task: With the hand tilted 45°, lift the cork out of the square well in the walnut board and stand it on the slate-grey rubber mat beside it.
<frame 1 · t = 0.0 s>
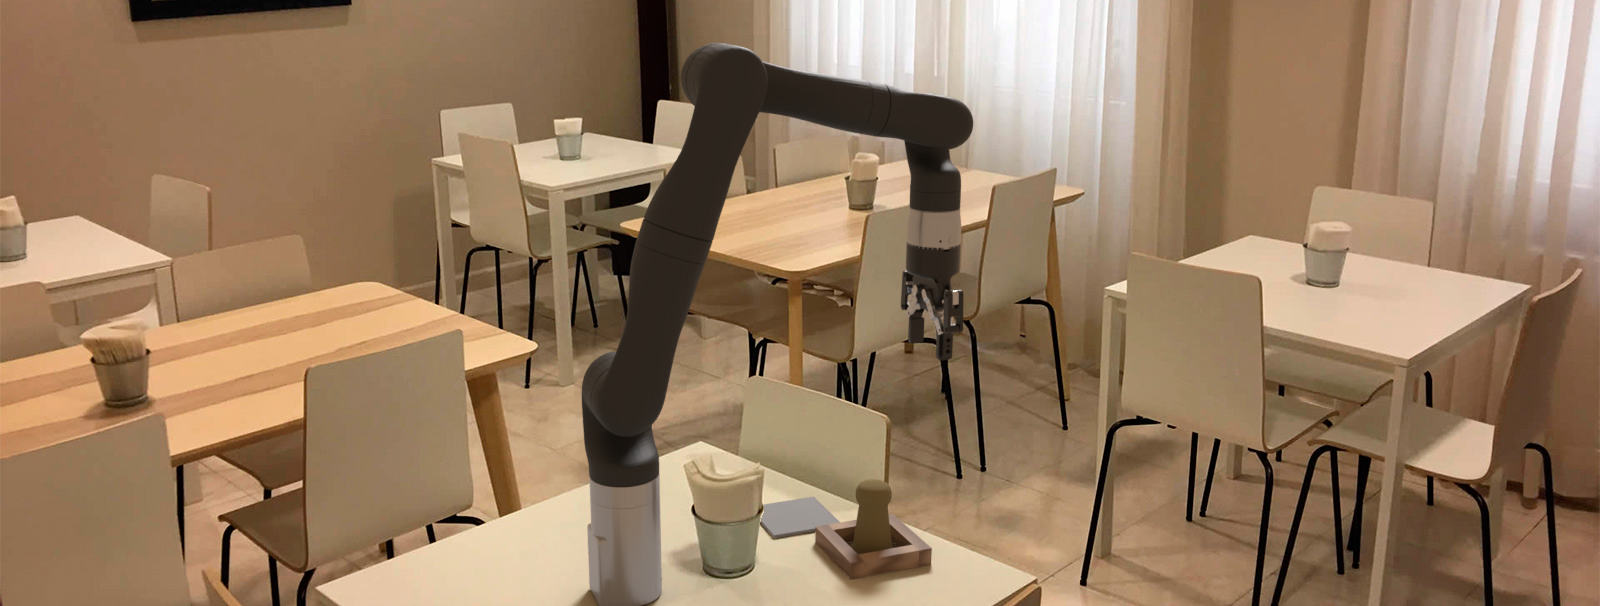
hand: (929, 350, 185), 29 cm above the table, tool pointing down, fingers open, 8 cm apart
cork: (872, 554, 188), resting in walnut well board
slate mat: (794, 518, 199), on the table
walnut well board: (872, 553, 188), on the table
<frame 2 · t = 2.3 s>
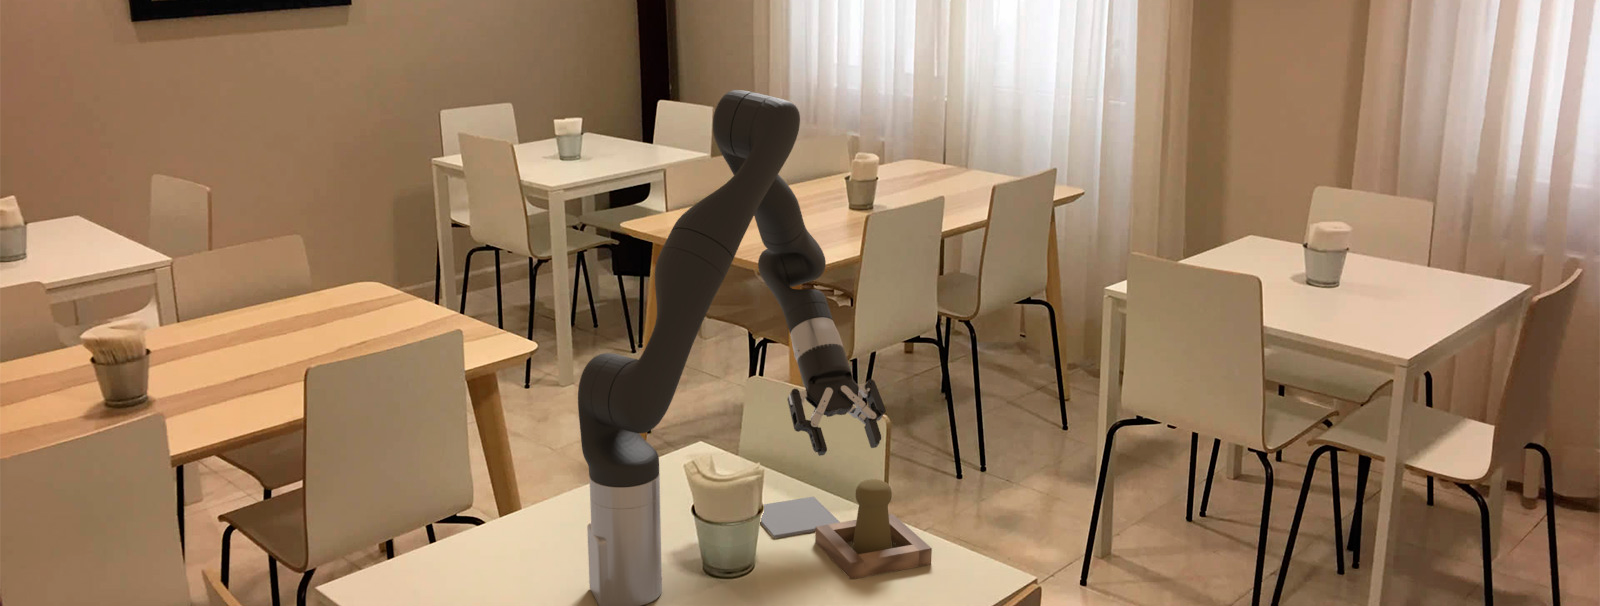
hand: (849, 449, 192), 13 cm above the table, tool tilted 45°, fingers open, 8 cm apart
nothing on the table moved.
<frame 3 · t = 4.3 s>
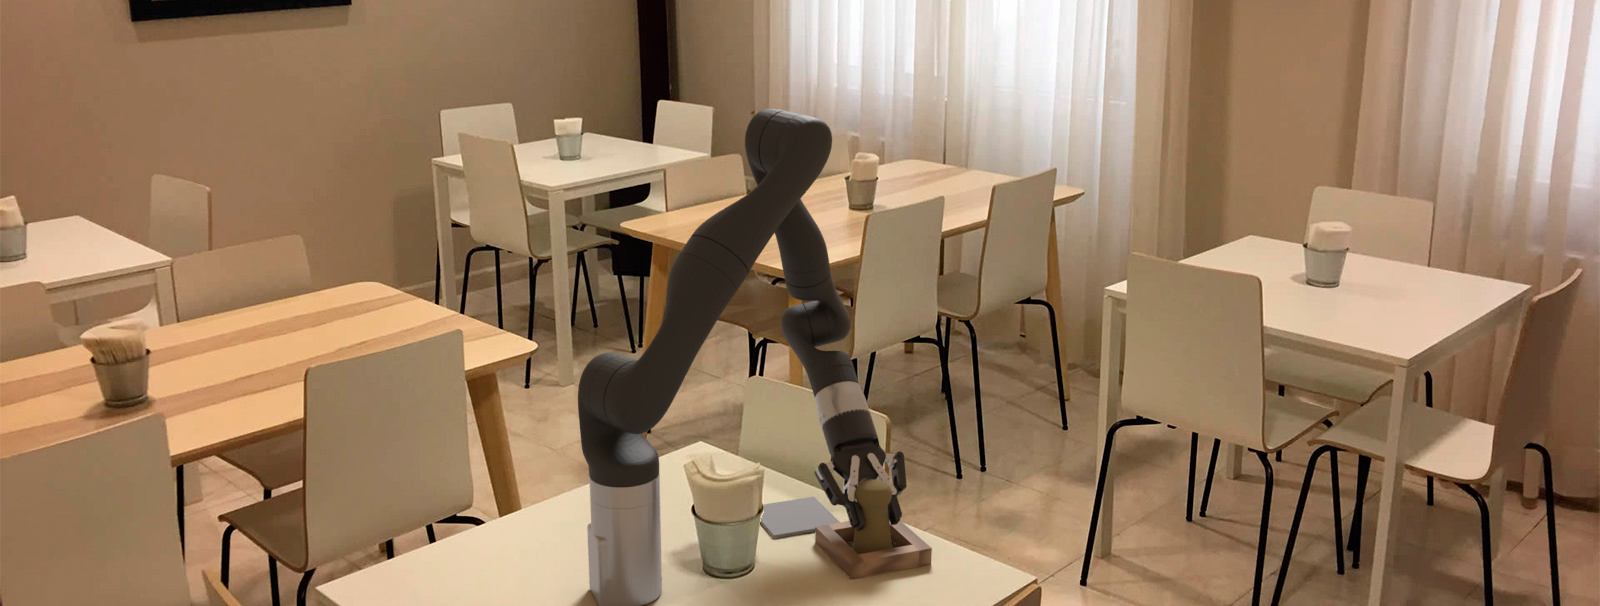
hand: (878, 525, 185), 5 cm above the table, tool tilted 45°, fingers closed on cork, 5 cm apart
cork: (872, 554, 188), resting in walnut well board, touching gripper
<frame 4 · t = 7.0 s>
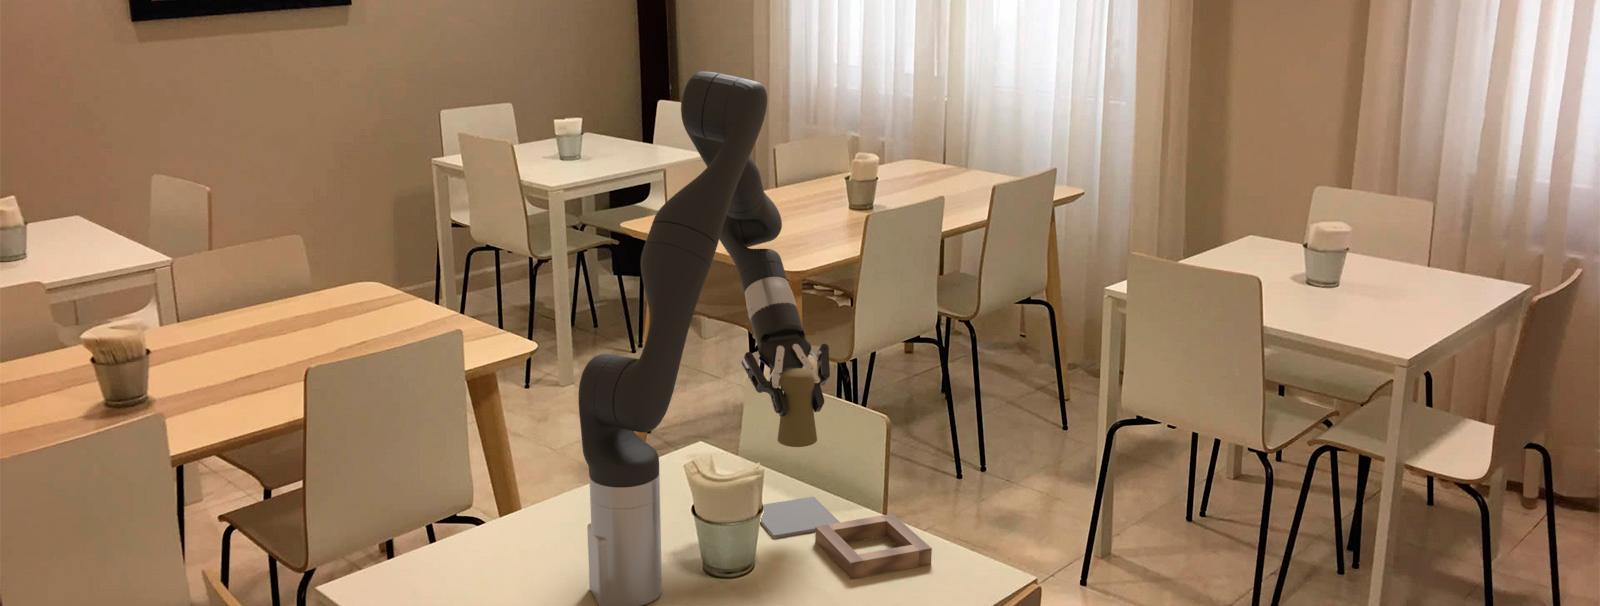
hand: (801, 411, 193), 18 cm above the table, tool tilted 45°, fingers closed on cork, 5 cm apart
cork: (797, 440, 196), point 13 cm above the table, touching gripper
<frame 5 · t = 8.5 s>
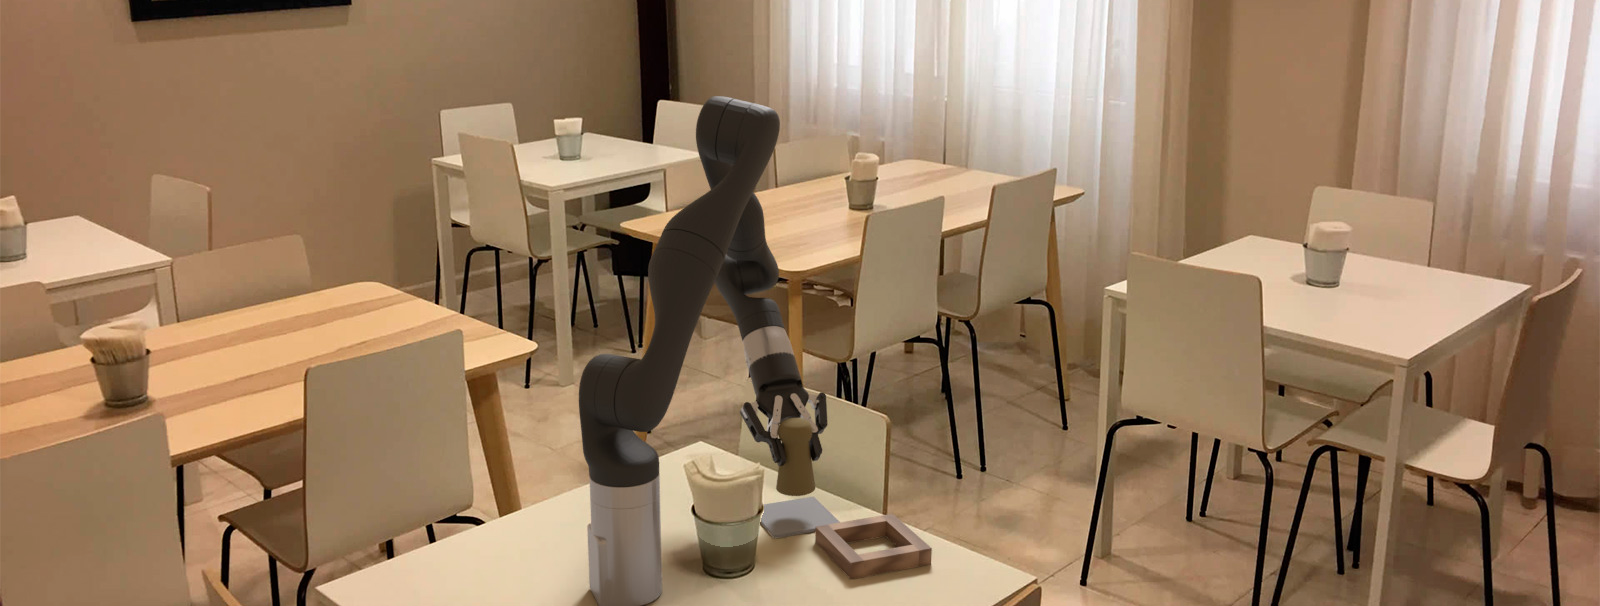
hand: (799, 460, 195), 10 cm above the table, tool tilted 45°, fingers closed on cork, 5 cm apart
cork: (795, 489, 198), point 5 cm above the table, touching gripper
when the fingers open (7 cm above the table, at t = 9.6 s): cork drops 1 cm, resting on slate mat.
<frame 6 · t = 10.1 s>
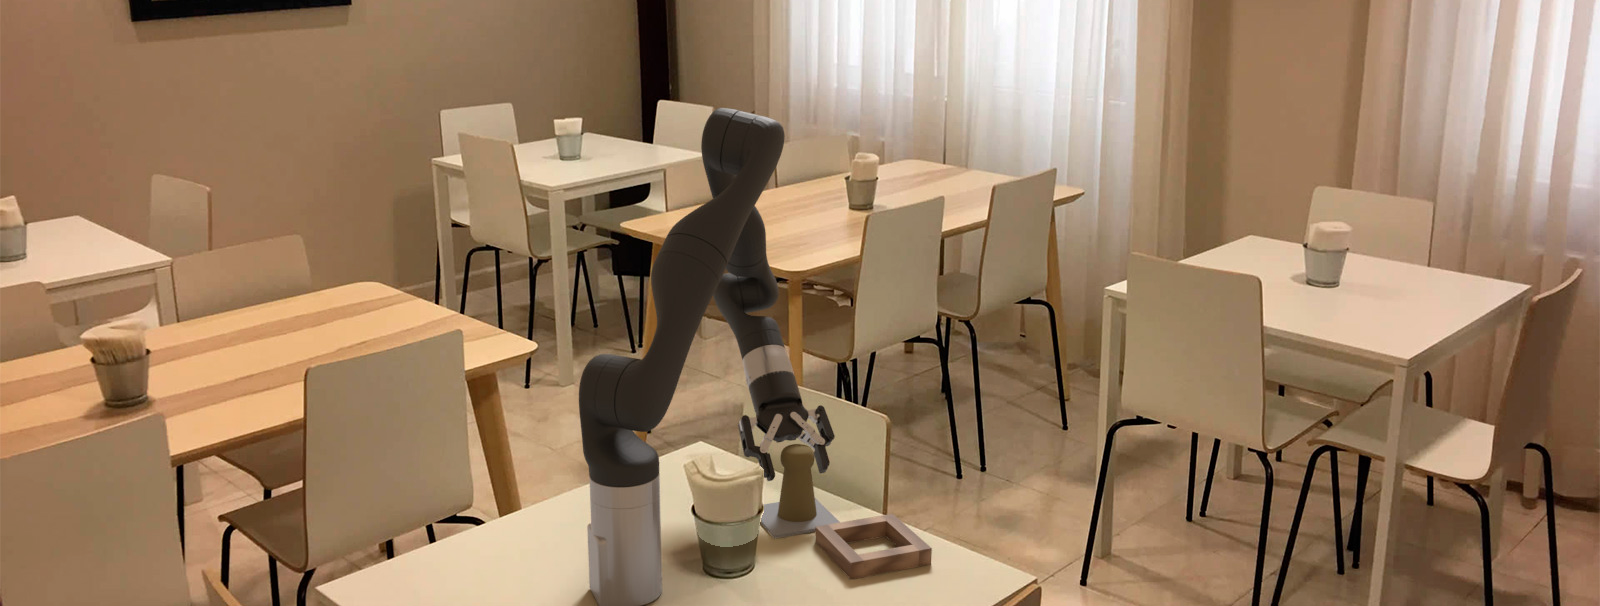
hand: (798, 475, 196), 8 cm above the table, tool tilted 45°, fingers open, 8 cm apart
cork: (797, 514, 199), resting on slate mat
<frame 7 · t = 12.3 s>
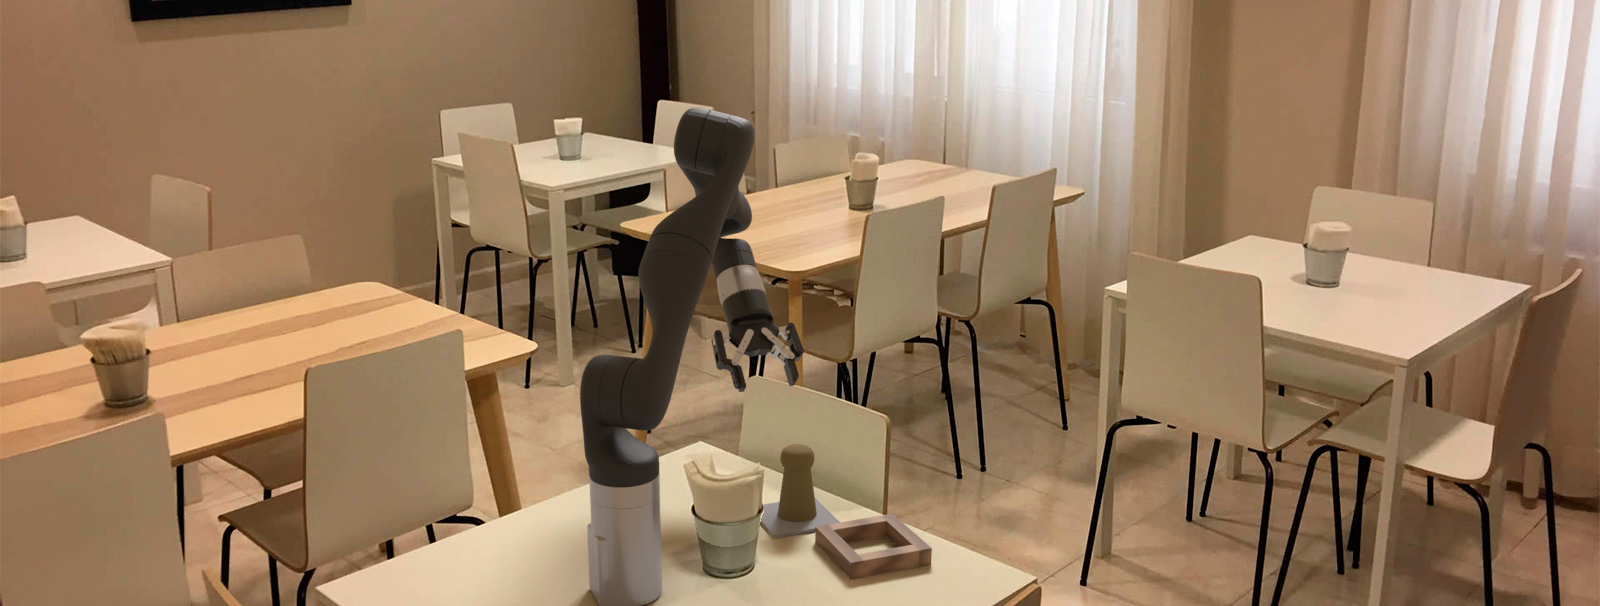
hand: (768, 386, 205), 18 cm above the table, tool tilted 45°, fingers open, 8 cm apart
nothing on the table moved.
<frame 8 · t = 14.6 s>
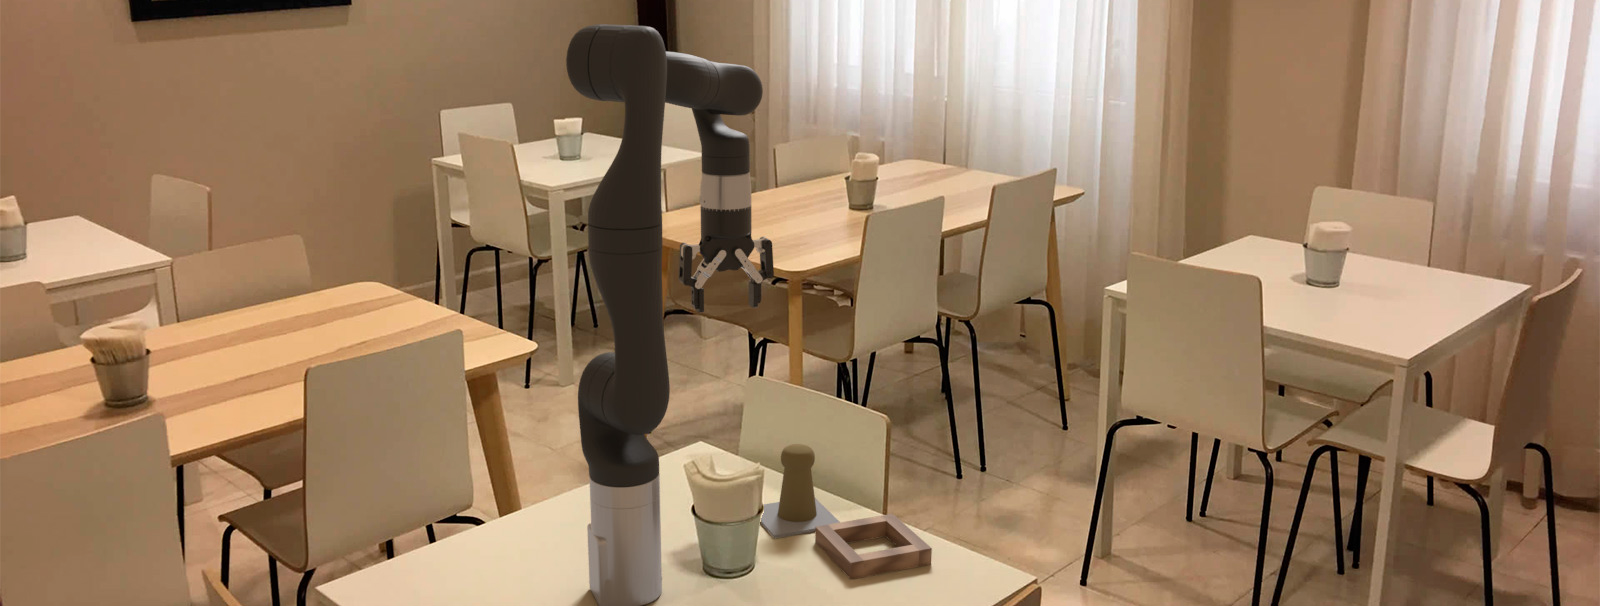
hand: (726, 308, 195), 32 cm above the table, tool pointing down, fingers open, 8 cm apart
nothing on the table moved.
at the end: cork inside the target area on the slate mat (0.7 cm from its centre), point 0.3 cm above the slate mat's base; cork tilted 0°; the gripper is holding nothing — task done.
